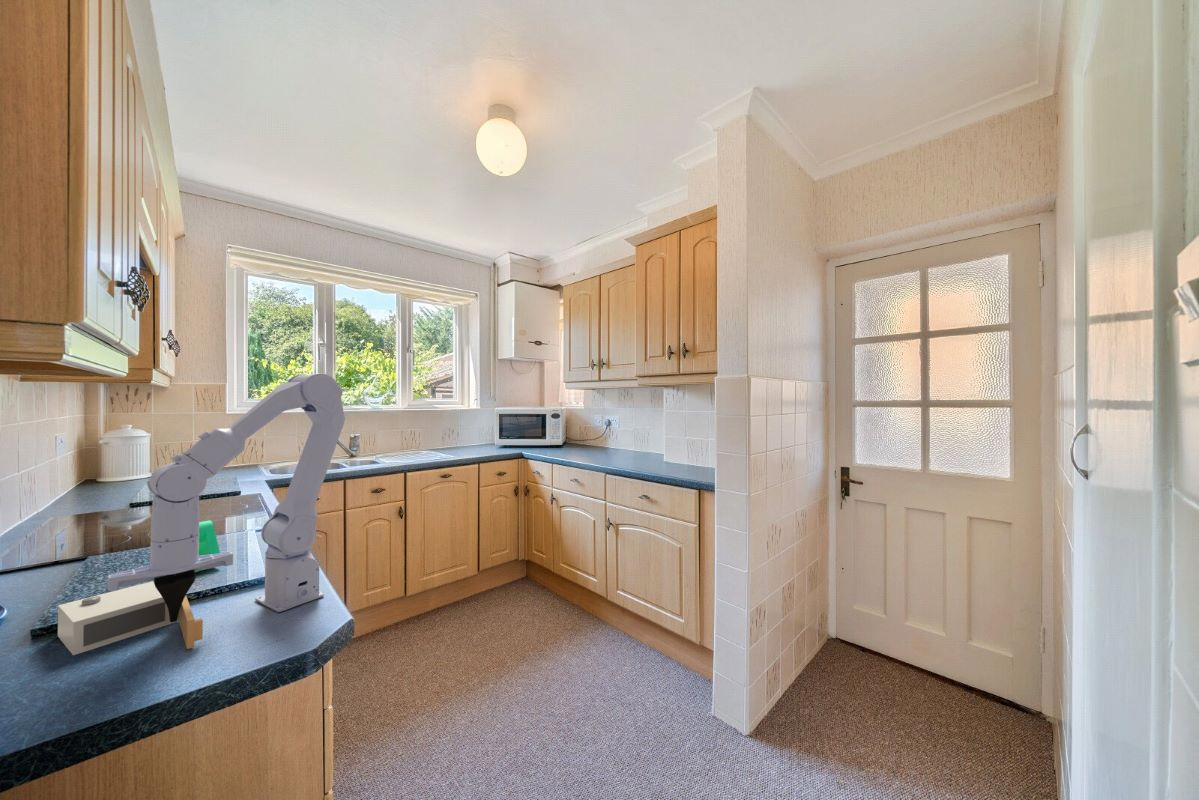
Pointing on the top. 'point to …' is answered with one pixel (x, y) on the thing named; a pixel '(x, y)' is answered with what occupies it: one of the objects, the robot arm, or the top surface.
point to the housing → (111, 617)
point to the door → (189, 625)
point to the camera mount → (207, 539)
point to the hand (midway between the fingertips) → (173, 619)
